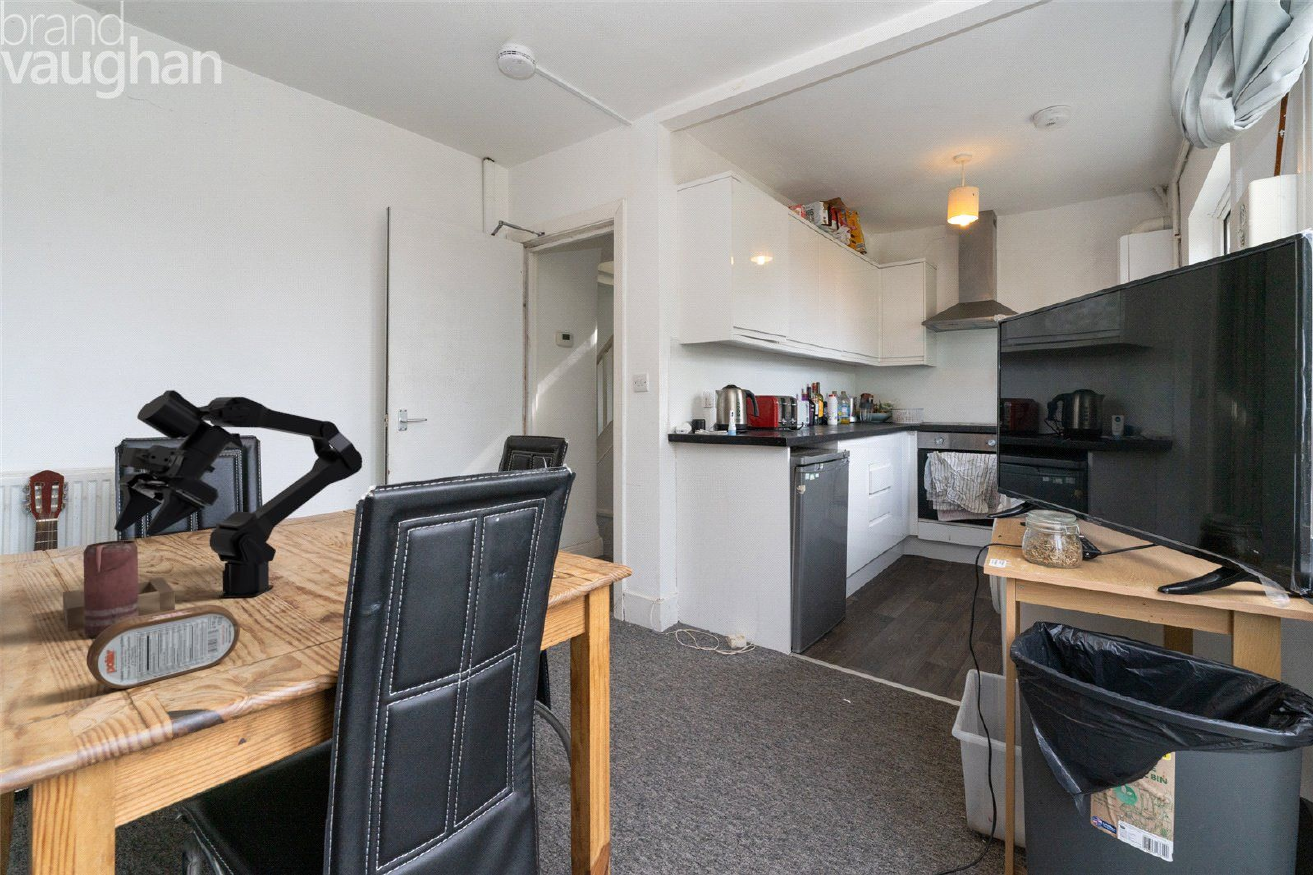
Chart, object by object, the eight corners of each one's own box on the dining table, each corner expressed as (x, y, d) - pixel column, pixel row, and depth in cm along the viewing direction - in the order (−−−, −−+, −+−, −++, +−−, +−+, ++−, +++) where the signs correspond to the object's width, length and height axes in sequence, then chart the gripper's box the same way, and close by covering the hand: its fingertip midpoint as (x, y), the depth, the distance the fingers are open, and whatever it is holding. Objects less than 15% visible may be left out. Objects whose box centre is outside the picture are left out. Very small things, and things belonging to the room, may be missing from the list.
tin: (236, 655, 80) (235, 596, 80) (242, 661, 78) (242, 601, 78) (86, 693, 69) (85, 625, 69) (89, 701, 67) (88, 631, 67)
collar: (162, 595, 107) (162, 577, 107) (174, 610, 99) (174, 591, 99) (63, 612, 98) (62, 592, 98) (67, 630, 89) (67, 608, 89)
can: (76, 642, 85) (74, 549, 84) (94, 628, 90) (93, 541, 90) (129, 635, 87) (128, 545, 87) (144, 622, 93) (142, 537, 93)
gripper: (122, 427, 99) (49, 505, 90) (185, 427, 91) (112, 512, 83) (182, 462, 107) (120, 536, 99) (244, 465, 100) (183, 546, 91)
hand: (132, 532), depth 93 cm, fingers open, 9 cm apart
